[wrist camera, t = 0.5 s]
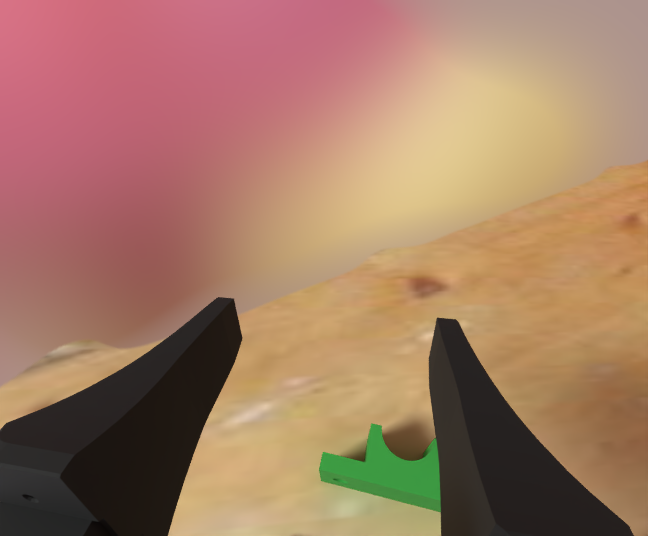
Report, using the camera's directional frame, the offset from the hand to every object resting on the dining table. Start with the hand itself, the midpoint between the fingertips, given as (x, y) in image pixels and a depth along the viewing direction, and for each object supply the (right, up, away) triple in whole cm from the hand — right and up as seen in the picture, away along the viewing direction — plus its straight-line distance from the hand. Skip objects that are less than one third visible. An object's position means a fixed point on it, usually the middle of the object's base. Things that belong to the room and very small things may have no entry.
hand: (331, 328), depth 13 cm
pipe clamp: (+5, -14, +16) cm, 22 cm away
